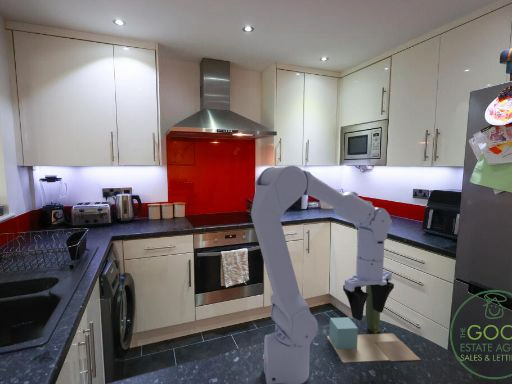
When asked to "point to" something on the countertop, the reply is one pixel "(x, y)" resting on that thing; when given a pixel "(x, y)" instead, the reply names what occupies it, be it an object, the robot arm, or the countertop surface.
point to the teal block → (343, 333)
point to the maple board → (376, 349)
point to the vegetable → (371, 313)
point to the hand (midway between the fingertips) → (367, 314)
